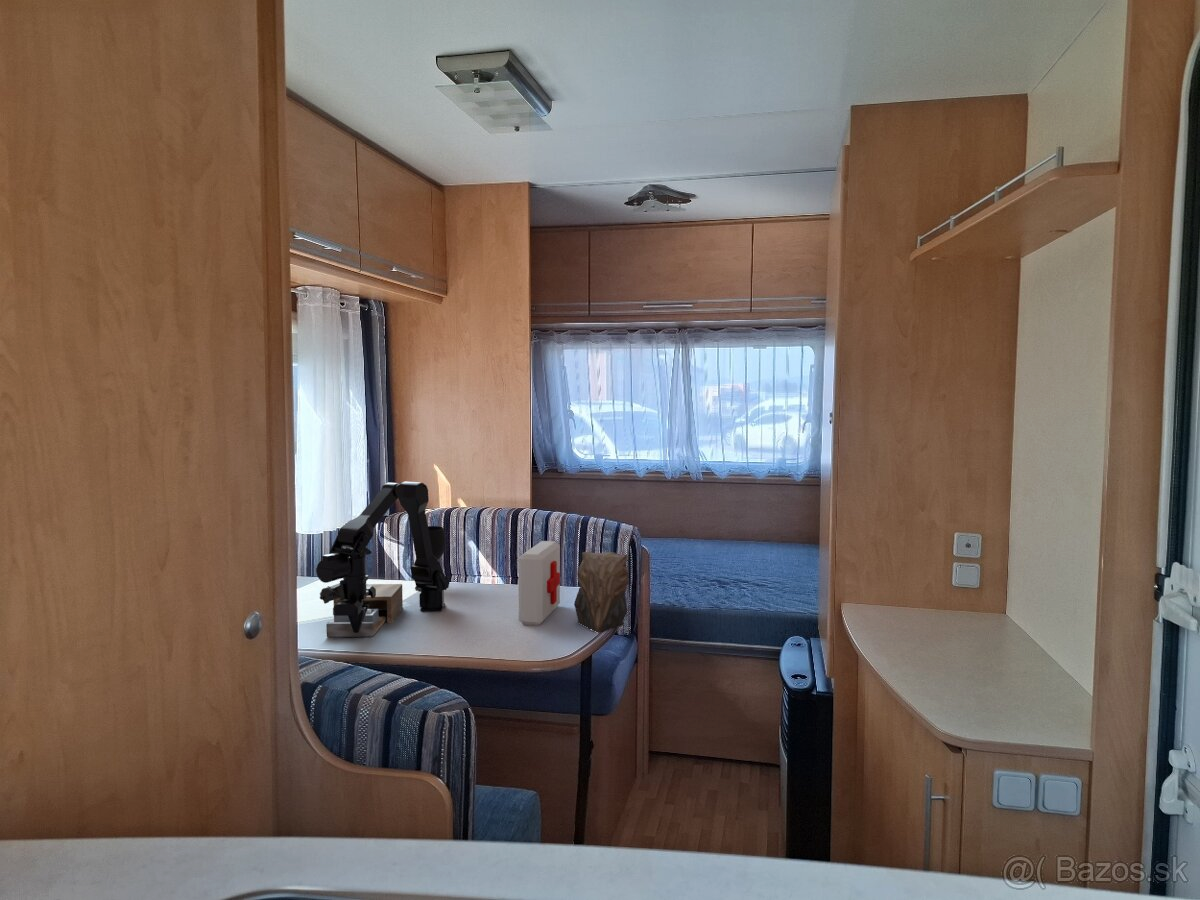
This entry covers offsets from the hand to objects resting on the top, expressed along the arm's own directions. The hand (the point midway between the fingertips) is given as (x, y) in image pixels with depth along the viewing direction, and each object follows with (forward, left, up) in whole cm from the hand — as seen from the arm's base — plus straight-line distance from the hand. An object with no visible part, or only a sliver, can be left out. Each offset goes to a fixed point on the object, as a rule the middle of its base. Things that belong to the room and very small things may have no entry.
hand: (356, 632), depth 198 cm
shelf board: (+2, -8, -1) cm, 9 cm away
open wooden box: (+2, -21, -2) cm, 21 cm away
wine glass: (-10, -52, -2) cm, 53 cm away
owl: (-64, -10, -2) cm, 65 cm away
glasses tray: (+2, -8, -1) cm, 9 cm away
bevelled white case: (-48, -20, -2) cm, 52 cm away
